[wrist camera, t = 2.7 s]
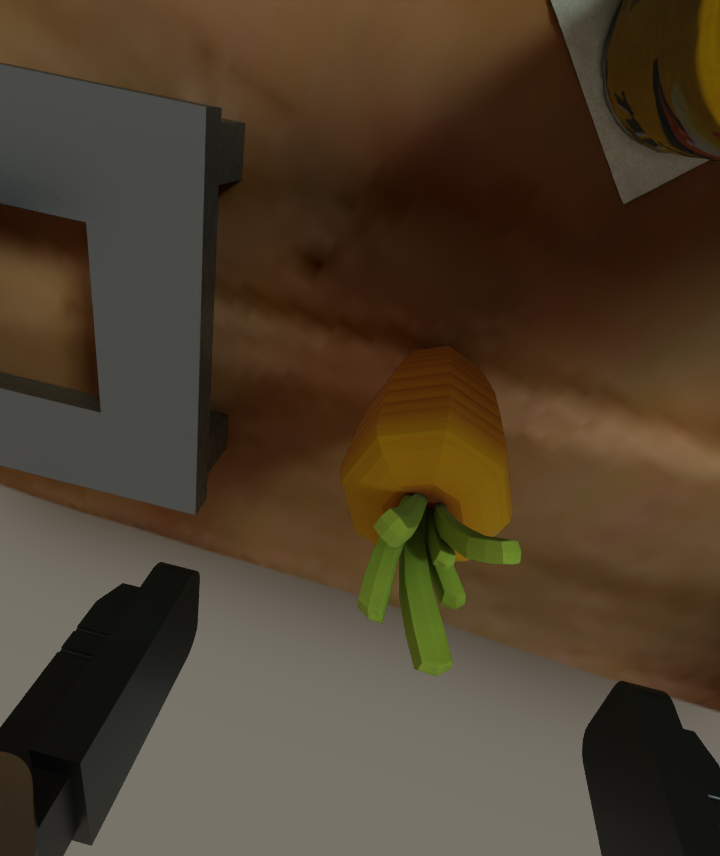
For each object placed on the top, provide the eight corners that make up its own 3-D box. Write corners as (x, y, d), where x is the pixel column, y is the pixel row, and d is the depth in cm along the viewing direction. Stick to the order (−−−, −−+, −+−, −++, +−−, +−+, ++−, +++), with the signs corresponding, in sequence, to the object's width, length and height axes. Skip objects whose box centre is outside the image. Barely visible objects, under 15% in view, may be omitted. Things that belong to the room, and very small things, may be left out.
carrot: (397, 290, 23) (308, 503, 10) (513, 317, 23) (578, 571, 10) (374, 394, 25) (280, 672, 12) (479, 419, 25) (493, 730, 12)
